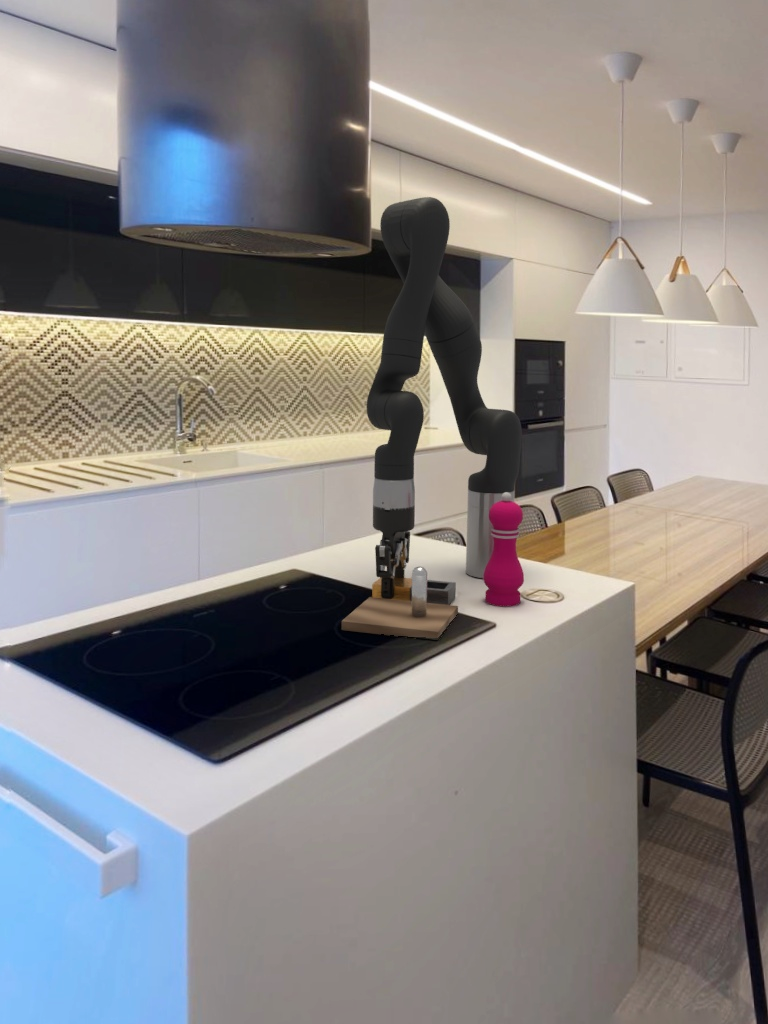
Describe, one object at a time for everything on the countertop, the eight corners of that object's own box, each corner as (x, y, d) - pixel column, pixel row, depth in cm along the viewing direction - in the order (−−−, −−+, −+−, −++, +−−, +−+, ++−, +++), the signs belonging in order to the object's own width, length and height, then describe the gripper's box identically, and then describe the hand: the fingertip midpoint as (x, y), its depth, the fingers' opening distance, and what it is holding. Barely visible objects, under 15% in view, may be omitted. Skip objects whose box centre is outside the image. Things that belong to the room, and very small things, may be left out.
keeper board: (369, 605, 145) (369, 597, 145) (457, 614, 141) (458, 605, 140) (341, 630, 132) (341, 621, 132) (437, 641, 127) (438, 631, 127)
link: (382, 591, 154) (382, 575, 153) (455, 598, 150) (455, 582, 149) (372, 600, 148) (372, 584, 148) (447, 607, 144) (448, 591, 144)
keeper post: (413, 612, 137) (414, 564, 135) (428, 613, 136) (429, 565, 134) (409, 616, 134) (410, 567, 133) (424, 618, 134) (425, 569, 132)
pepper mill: (522, 608, 144) (526, 496, 140) (480, 606, 145) (484, 494, 142) (523, 597, 151) (528, 489, 147) (484, 594, 152) (487, 488, 148)
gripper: (385, 495, 155) (385, 581, 158) (360, 508, 141) (360, 602, 144) (424, 497, 152) (422, 584, 156) (402, 511, 139) (401, 606, 142)
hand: (392, 592), depth 150 cm, fingers closed on link, 6 cm apart
